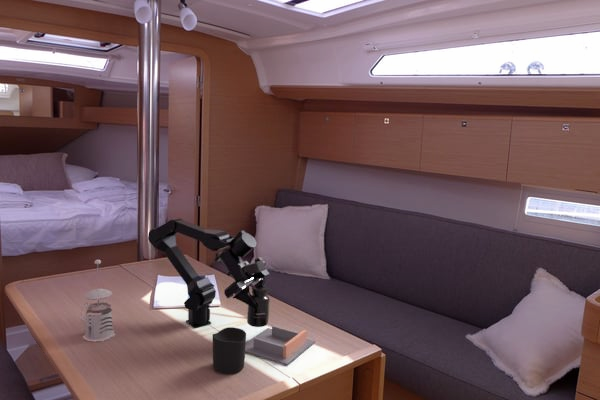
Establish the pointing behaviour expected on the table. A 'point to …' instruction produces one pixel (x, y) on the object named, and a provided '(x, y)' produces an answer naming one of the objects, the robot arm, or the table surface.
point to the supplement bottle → (259, 307)
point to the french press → (94, 329)
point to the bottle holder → (279, 345)
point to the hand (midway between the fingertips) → (262, 304)
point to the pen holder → (229, 350)
